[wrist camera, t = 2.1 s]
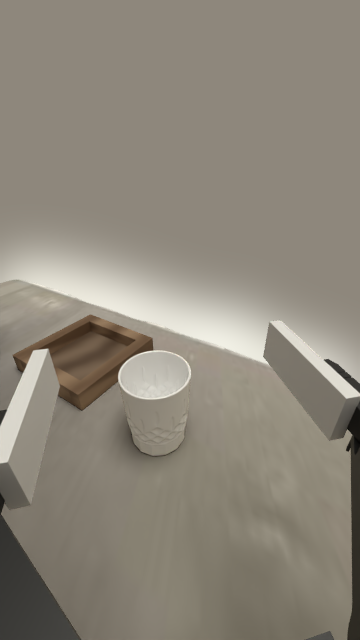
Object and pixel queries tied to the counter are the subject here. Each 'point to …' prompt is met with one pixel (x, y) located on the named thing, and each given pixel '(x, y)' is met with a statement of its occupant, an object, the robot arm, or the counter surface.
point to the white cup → (156, 400)
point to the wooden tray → (88, 357)
